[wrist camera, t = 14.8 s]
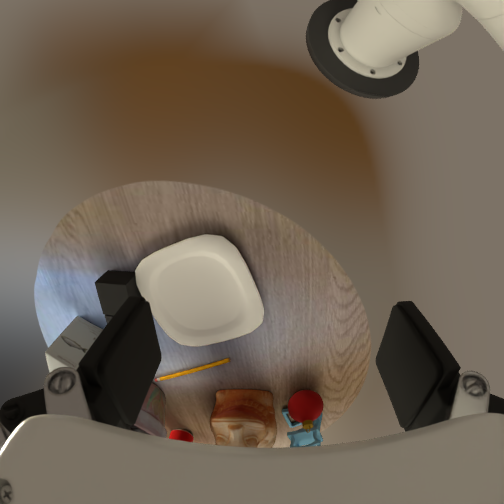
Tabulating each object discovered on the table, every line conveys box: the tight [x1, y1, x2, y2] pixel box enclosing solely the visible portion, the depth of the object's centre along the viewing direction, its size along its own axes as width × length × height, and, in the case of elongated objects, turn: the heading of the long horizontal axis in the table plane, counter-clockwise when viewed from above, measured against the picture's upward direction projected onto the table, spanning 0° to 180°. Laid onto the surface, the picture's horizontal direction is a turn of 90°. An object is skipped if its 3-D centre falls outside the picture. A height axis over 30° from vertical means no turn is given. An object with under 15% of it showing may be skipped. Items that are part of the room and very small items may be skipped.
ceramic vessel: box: [210, 389, 277, 448], centre depth 46 cm, size 14×26×15 cm, turn 2°
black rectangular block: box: [95, 270, 142, 316], centre depth 41 cm, size 8×6×4 cm
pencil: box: [155, 358, 230, 382], centre depth 48 cm, size 1×18×1 cm, turn 118°
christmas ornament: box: [288, 390, 323, 433], centre depth 45 cm, size 7×7×10 cm
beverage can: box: [169, 429, 193, 442], centre depth 53 cm, size 6×6×12 cm
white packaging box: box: [45, 316, 103, 372], centre depth 41 cm, size 7×7×13 cm
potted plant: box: [129, 383, 167, 438], centre depth 41 cm, size 18×20×25 cm
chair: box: [282, 409, 323, 447], centre depth 47 cm, size 8×8×12 cm
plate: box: [135, 234, 264, 347], centre depth 41 cm, size 18×18×2 cm
